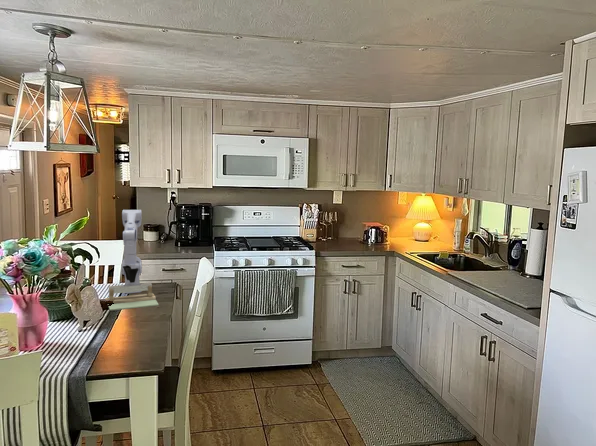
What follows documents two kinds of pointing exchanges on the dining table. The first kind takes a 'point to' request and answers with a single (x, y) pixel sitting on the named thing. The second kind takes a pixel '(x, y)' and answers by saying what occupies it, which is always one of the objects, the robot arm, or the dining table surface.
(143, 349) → the dining table surface
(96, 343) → the dining table surface
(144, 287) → the rail
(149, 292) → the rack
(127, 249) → the robot arm
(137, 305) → the mat
